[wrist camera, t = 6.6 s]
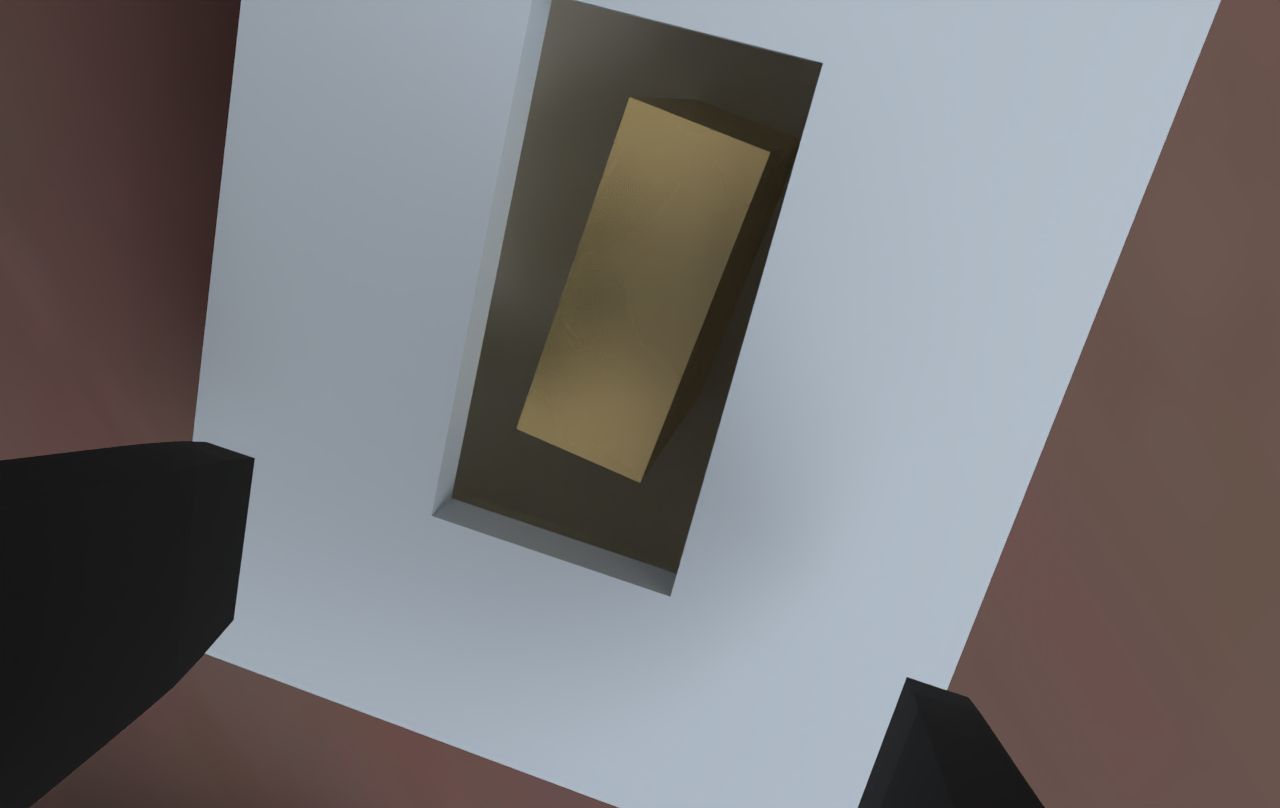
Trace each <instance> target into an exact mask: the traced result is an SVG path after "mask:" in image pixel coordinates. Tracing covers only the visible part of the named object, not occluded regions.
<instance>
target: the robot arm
mask: <svg viewBox="0 0 1280 808" xmlns="http://www.w3.org/2000/svg"><path fill="white" fill-rule="evenodd" d="M254 461H255V458H253V457H250V456H247V455H244V454H241V453H238V452H235V451H232V450H229V449H226V448H223V447H220V446H217V445H214V444H211V443H208V442H196V441H181V442H163V443H150V444H139V445H129V446H120V447H111V448H102V449H94V450H85V451H77V452H69V453H60V454H52V455H44V456H35V457H27V458H19V459H10V460H2V461H0V808H29V807H30V806H32V805H33V804H34V803H35V802H36V801H38V800H39V799H40V798H41V797H42V796H44V795H45V794H46V793H47V792H49V791H50V790H51V789H52V788H53V787H55V786H56V785H57V784H58V783H59V782H61V781H62V780H63V779H64V778H65V777H67V776H68V775H69V774H70V773H72V772H73V771H74V770H75V769H76V768H78V767H79V766H80V765H81V764H82V763H84V762H85V761H86V760H87V759H89V758H90V757H91V756H92V755H93V754H95V753H96V752H97V751H98V750H99V749H101V748H102V747H103V746H104V745H106V744H107V743H108V742H109V741H110V740H112V739H113V738H114V737H115V736H116V735H118V734H119V733H120V732H121V731H122V730H123V729H125V728H126V727H127V726H128V725H129V724H131V723H132V722H133V721H134V720H135V719H137V718H138V717H139V716H140V715H141V714H142V713H144V712H145V711H146V710H147V709H148V708H150V707H151V706H152V705H153V704H154V703H155V702H157V701H158V700H159V699H160V698H161V697H162V696H164V695H165V694H166V693H167V692H168V691H169V690H170V689H172V688H173V687H174V686H175V685H176V684H177V683H178V681H179V680H180V679H181V678H182V677H183V676H184V675H185V674H186V673H187V672H188V671H189V670H190V669H191V668H192V667H193V666H194V665H195V663H196V662H197V661H198V660H199V659H200V658H201V657H202V656H203V655H204V654H205V652H206V651H207V650H208V649H209V648H210V647H211V646H212V644H213V643H214V642H215V641H216V640H217V639H218V638H219V636H220V635H221V634H222V633H223V632H224V631H225V630H226V628H227V627H228V626H229V625H230V624H231V623H232V621H233V620H234V613H235V606H236V598H237V591H238V583H239V575H240V568H241V560H242V553H243V545H244V537H245V530H246V522H247V515H248V507H249V499H250V492H251V484H252V477H253V469H254ZM858 808H1045V807H1044V806H1043V805H1042V803H1041V802H1040V800H1039V799H1038V797H1037V796H1036V795H1035V793H1034V792H1033V790H1032V789H1031V787H1030V786H1029V784H1028V783H1027V782H1026V780H1025V779H1024V777H1023V776H1022V774H1021V773H1020V771H1019V770H1018V768H1017V767H1016V765H1015V764H1014V762H1013V761H1012V759H1011V758H1010V756H1009V755H1008V753H1007V752H1006V750H1005V749H1004V747H1003V746H1002V744H1001V743H1000V741H999V740H998V738H997V737H996V735H995V734H994V732H993V731H992V730H991V728H990V727H989V725H988V724H987V722H986V721H985V719H984V718H983V716H982V715H981V713H980V712H979V711H978V709H977V708H976V707H975V705H974V704H973V703H972V701H971V700H970V699H969V698H968V697H965V696H962V695H959V694H956V693H953V692H950V691H947V690H944V689H941V688H938V687H935V686H932V685H929V684H926V683H923V682H920V681H918V680H915V679H912V678H909V677H907V678H906V680H905V683H904V686H903V688H902V691H901V694H900V696H899V699H898V702H897V704H896V707H895V710H894V712H893V715H892V718H891V720H890V723H889V726H888V728H887V731H886V734H885V736H884V739H883V742H882V744H881V747H880V750H879V752H878V755H877V758H876V760H875V763H874V766H873V768H872V771H871V774H870V776H869V779H868V781H867V784H866V787H865V789H864V792H863V795H862V797H861V800H860V803H859V805H858Z"/></svg>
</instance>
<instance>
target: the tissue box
mask: <svg viewBox="0 0 1280 808" xmlns="http://www.w3.org/2000/svg"><path fill="white" fill-rule="evenodd" d="M1220 1H1221V0H241V7H240V16H239V25H238V34H237V43H236V52H235V61H234V70H233V79H232V88H231V97H230V106H229V115H228V124H227V134H226V143H225V152H224V161H223V170H222V179H221V188H220V197H219V206H218V215H217V224H216V233H215V242H214V251H213V260H212V270H211V279H210V288H209V297H208V306H207V315H206V324H205V333H204V342H203V351H202V360H201V369H200V378H199V387H198V396H197V406H196V415H195V424H194V433H193V441H196V442H208V443H211V444H214V445H217V446H220V447H223V448H226V449H229V450H232V451H235V452H238V453H241V454H244V455H247V456H250V457H253V458H255V461H254V469H253V477H252V484H251V492H250V499H249V507H248V515H247V522H246V530H245V537H244V545H243V553H242V560H241V568H240V575H239V583H238V591H237V598H236V606H235V613H234V620H233V621H232V623H231V624H230V625H229V626H228V627H227V628H226V630H225V631H224V632H223V633H222V634H221V635H220V636H219V638H218V639H217V640H216V641H215V642H214V643H213V644H212V646H211V647H210V648H209V649H208V650H207V651H206V652H205V654H208V655H210V656H213V657H216V658H219V659H221V660H224V661H227V662H229V663H232V664H235V665H237V666H240V667H243V668H245V669H248V670H251V671H253V672H256V673H259V674H261V675H264V676H267V677H270V678H272V679H275V680H278V681H280V682H283V683H286V684H288V685H291V686H294V687H296V688H299V689H302V690H304V691H307V692H310V693H313V694H315V695H318V696H321V697H323V698H326V699H329V700H331V701H334V702H337V703H339V704H342V705H345V706H347V707H350V708H353V709H356V710H358V711H361V712H364V713H366V714H369V715H372V716H374V717H377V718H380V719H382V720H385V721H388V722H390V723H393V724H396V725H398V726H401V727H404V728H407V729H409V730H412V731H415V732H417V733H420V734H423V735H425V736H428V737H431V738H433V739H436V740H439V741H441V742H444V743H447V744H450V745H452V746H455V747H458V748H460V749H463V750H466V751H468V752H471V753H474V754H476V755H479V756H482V757H484V758H487V759H490V760H493V761H495V762H498V763H501V764H503V765H506V766H509V767H511V768H514V769H517V770H519V771H522V772H525V773H527V774H530V775H533V776H535V777H538V778H541V779H544V780H546V781H549V782H552V783H554V784H557V785H560V786H562V787H565V788H568V789H570V790H573V791H576V792H578V793H581V794H584V795H587V796H589V797H592V798H595V799H597V800H600V801H603V802H605V803H608V804H611V805H613V806H616V807H619V808H858V805H859V803H860V800H861V797H862V795H863V792H864V789H865V787H866V784H867V781H868V779H869V776H870V774H871V771H872V768H873V766H874V763H875V760H876V758H877V755H878V752H879V750H880V747H881V744H882V742H883V739H884V736H885V734H886V731H887V728H888V726H889V723H890V720H891V718H892V715H893V712H894V710H895V707H896V704H897V702H898V699H899V696H900V694H901V691H902V688H903V686H904V683H905V680H906V678H907V677H909V678H912V679H915V680H918V681H920V682H923V683H926V684H929V685H932V686H935V687H938V688H941V689H944V690H947V688H948V686H949V683H950V681H951V678H952V676H953V673H954V671H955V668H956V666H957V663H958V661H959V658H960V656H961V653H962V650H963V648H964V645H965V643H966V640H967V638H968V635H969V633H970V630H971V628H972V625H973V623H974V620H975V618H976V615H977V613H978V610H979V608H980V605H981V603H982V600H983V598H984V595H985V593H986V590H987V588H988V585H989V583H990V580H991V577H992V575H993V572H994V570H995V567H996V565H997V562H998V560H999V557H1000V555H1001V552H1002V550H1003V547H1004V545H1005V542H1006V540H1007V537H1008V535H1009V532H1010V530H1011V527H1012V525H1013V522H1014V520H1015V517H1016V515H1017V512H1018V510H1019V507H1020V504H1021V502H1022V499H1023V497H1024V494H1025V492H1026V489H1027V487H1028V484H1029V482H1030V479H1031V477H1032V474H1033V472H1034V469H1035V467H1036V464H1037V462H1038V459H1039V457H1040V454H1041V452H1042V449H1043V447H1044V444H1045V442H1046V439H1047V437H1048V434H1049V431H1050V429H1051V426H1052V424H1053V421H1054V419H1055V416H1056V414H1057V411H1058V409H1059V406H1060V404H1061V401H1062V399H1063V396H1064V394H1065V391H1066V389H1067V386H1068V384H1069V381H1070V379H1071V376H1072V374H1073V371H1074V369H1075V366H1076V364H1077V361H1078V358H1079V356H1080V353H1081V351H1082V348H1083V346H1084V343H1085V341H1086V338H1087V336H1088V333H1089V331H1090V328H1091V326H1092V323H1093V321H1094V318H1095V316H1096V313H1097V311H1098V308H1099V306H1100V303H1101V301H1102V298H1103V296H1104V293H1105V291H1106V288H1107V285H1108V283H1109V280H1110V278H1111V275H1112V273H1113V270H1114V268H1115V265H1116V263H1117V260H1118V258H1119V255H1120V253H1121V250H1122V248H1123V245H1124V243H1125V240H1126V238H1127V235H1128V233H1129V230H1130V228H1131V225H1132V223H1133V220H1134V217H1135V215H1136V212H1137V210H1138V207H1139V205H1140V202H1141V200H1142V197H1143V195H1144V192H1145V190H1146V187H1147V185H1148V182H1149V180H1150V177H1151V175H1152V172H1153V170H1154V167H1155V165H1156V162H1157V160H1158V157H1159V155H1160V152H1161V150H1162V147H1163V144H1164V142H1165V139H1166V137H1167V134H1168V132H1169V129H1170V127H1171V124H1172V122H1173V119H1174V117H1175V114H1176V112H1177V109H1178V107H1179V104H1180V102H1181V99H1182V97H1183V94H1184V92H1185V89H1186V87H1187V84H1188V82H1189V79H1190V77H1191V74H1192V71H1193V69H1194V66H1195V64H1196V61H1197V59H1198V56H1199V54H1200V51H1201V49H1202V46H1203V44H1204V41H1205V39H1206V36H1207V34H1208V31H1209V29H1210V26H1211V24H1212V21H1213V19H1214V16H1215V14H1216V11H1217V9H1218V6H1219V4H1220ZM629 97H644V98H672V99H697V100H700V101H702V102H705V103H707V104H710V105H712V106H715V107H717V108H720V109H723V110H725V111H728V112H730V113H733V114H735V115H738V116H740V117H743V118H746V119H748V120H751V121H753V122H756V123H758V124H761V125H763V126H766V127H769V128H771V129H774V130H776V131H779V132H781V133H784V134H787V135H789V136H792V137H794V138H797V139H799V140H801V142H800V145H799V149H798V152H797V155H796V158H795V160H794V163H793V165H792V167H791V170H790V172H789V175H788V177H787V180H786V182H785V185H784V187H783V190H782V192H781V195H780V197H779V200H778V202H777V205H776V207H775V210H774V212H773V215H772V217H771V220H770V222H769V225H768V227H767V229H766V232H765V234H764V237H763V239H762V242H761V244H760V247H759V249H758V252H757V254H756V257H755V259H754V262H753V264H752V267H751V269H750V272H749V274H748V277H747V279H746V282H745V284H744V287H743V289H742V291H741V294H740V296H739V299H738V301H737V304H736V306H735V309H734V311H733V314H732V316H731V319H730V321H729V324H728V326H727V329H726V331H725V334H724V336H723V339H722V341H721V344H720V346H719V349H718V351H717V353H716V356H715V358H714V361H713V363H712V366H711V368H710V371H709V373H708V376H707V378H706V381H705V383H704V386H703V388H702V391H701V393H700V395H699V397H698V398H697V400H696V401H695V402H694V404H693V405H692V407H691V408H690V410H689V411H688V413H687V414H686V416H685V417H684V419H683V420H682V422H681V423H680V425H679V426H678V428H677V429H676V431H675V432H674V434H673V435H672V437H671V438H670V439H669V441H668V442H667V444H666V445H665V447H664V448H663V450H662V451H661V453H660V454H659V456H658V457H657V459H656V460H655V462H654V463H653V465H652V466H651V468H650V469H649V471H648V472H647V474H646V475H645V477H644V478H643V479H642V481H641V482H640V483H639V482H637V481H635V480H632V479H630V478H628V477H625V476H623V475H621V474H619V473H616V472H614V471H612V470H610V469H607V468H605V467H603V466H600V465H598V464H596V463H594V462H591V461H589V460H587V459H584V458H582V457H580V456H578V455H575V454H573V453H571V452H568V451H566V450H564V449H562V448H559V447H557V446H555V445H552V444H550V443H548V442H546V441H543V440H541V439H539V438H536V437H534V436H532V435H530V434H527V433H525V432H523V431H520V430H518V429H516V428H517V425H518V422H519V419H520V416H521V413H522V410H523V408H524V405H525V402H526V399H527V396H528V393H529V390H530V387H531V384H532V381H533V378H534V375H535V372H536V369H537V367H538V364H539V361H540V358H541V355H542V352H543V349H544V346H545V343H546V340H547V337H548V334H549V331H550V328H551V325H552V323H553V320H554V317H555V314H556V311H557V308H558V305H559V302H560V299H561V296H562V293H563V290H564V287H565V284H566V282H567V279H568V276H569V273H570V270H571V267H572V264H573V261H574V258H575V255H576V252H577V249H578V246H579V243H580V241H581V238H582V235H583V232H584V229H585V226H586V223H587V220H588V217H589V214H590V211H591V208H592V205H593V202H594V199H595V197H596V194H597V191H598V188H599V185H600V182H601V179H602V176H603V173H604V170H605V167H606V164H607V161H608V158H609V156H610V153H611V150H612V147H613V144H614V141H615V138H616V135H617V132H618V129H619V126H620V123H621V120H622V117H623V115H624V112H625V109H626V106H627V103H628V100H629Z"/></svg>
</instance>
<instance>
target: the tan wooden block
mask: <svg viewBox="0 0 1280 808" xmlns="http://www.w3.org/2000/svg"><path fill="white" fill-rule="evenodd" d="M800 142H801V140H799V139H797V138H794V137H792V136H789V135H787V134H784V133H781V132H779V131H776V130H774V129H771V128H769V127H766V126H763V125H761V124H758V123H756V122H753V121H751V120H748V119H746V118H743V117H740V116H738V115H735V114H733V113H730V112H728V111H725V110H723V109H720V108H717V107H715V106H712V105H710V104H707V103H705V102H702V101H700V100H697V99H672V98H644V97H629V100H628V103H627V106H626V109H625V112H624V115H623V117H622V120H621V123H620V126H619V129H618V132H617V135H616V138H615V141H614V144H613V147H612V150H611V153H610V156H609V158H608V161H607V164H606V167H605V170H604V173H603V176H602V179H601V182H600V185H599V188H598V191H597V194H596V197H595V199H594V202H593V205H592V208H591V211H590V214H589V217H588V220H587V223H586V226H585V229H584V232H583V235H582V238H581V241H580V243H579V246H578V249H577V252H576V255H575V258H574V261H573V264H572V267H571V270H570V273H569V276H568V279H567V282H566V284H565V287H564V290H563V293H562V296H561V299H560V302H559V305H558V308H557V311H556V314H555V317H554V320H553V323H552V325H551V328H550V331H549V334H548V337H547V340H546V343H545V346H544V349H543V352H542V355H541V358H540V361H539V364H538V367H537V369H536V372H535V375H534V378H533V381H532V384H531V387H530V390H529V393H528V396H527V399H526V402H525V405H524V408H523V410H522V413H521V416H520V419H519V422H518V425H517V428H516V429H518V430H520V431H523V432H525V433H527V434H530V435H532V436H534V437H536V438H539V439H541V440H543V441H546V442H548V443H550V444H552V445H555V446H557V447H559V448H562V449H564V450H566V451H568V452H571V453H573V454H575V455H578V456H580V457H582V458H584V459H587V460H589V461H591V462H594V463H596V464H598V465H600V466H603V467H605V468H607V469H610V470H612V471H614V472H616V473H619V474H621V475H623V476H625V477H628V478H630V479H632V480H635V481H637V482H639V483H640V482H641V481H642V479H643V478H644V477H645V475H646V474H647V472H648V471H649V469H650V468H651V466H652V465H653V463H654V462H655V460H656V459H657V457H658V456H659V454H660V453H661V451H662V450H663V448H664V447H665V445H666V444H667V442H668V441H669V439H670V438H671V437H672V435H673V434H674V432H675V431H676V429H677V428H678V426H679V425H680V423H681V422H682V420H683V419H684V417H685V416H686V414H687V413H688V411H689V410H690V408H691V407H692V405H693V404H694V402H695V401H696V400H697V398H698V397H699V395H700V393H701V391H702V388H703V386H704V383H705V381H706V378H707V376H708V373H709V371H710V368H711V366H712V363H713V361H714V358H715V356H716V353H717V351H718V349H719V346H720V344H721V341H722V339H723V336H724V334H725V331H726V329H727V326H728V324H729V321H730V319H731V316H732V314H733V311H734V309H735V306H736V304H737V301H738V299H739V296H740V294H741V291H742V289H743V287H744V284H745V282H746V279H747V277H748V274H749V272H750V269H751V267H752V264H753V262H754V259H755V257H756V254H757V252H758V249H759V247H760V244H761V242H762V239H763V237H764V234H765V232H766V229H767V227H768V225H769V222H770V220H771V217H772V215H773V212H774V210H775V207H776V205H777V202H778V200H779V197H780V195H781V192H782V190H783V187H784V185H785V182H786V180H787V177H788V175H789V172H790V170H791V167H792V165H793V163H794V160H795V158H796V155H797V152H798V149H799V145H800Z"/></svg>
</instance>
